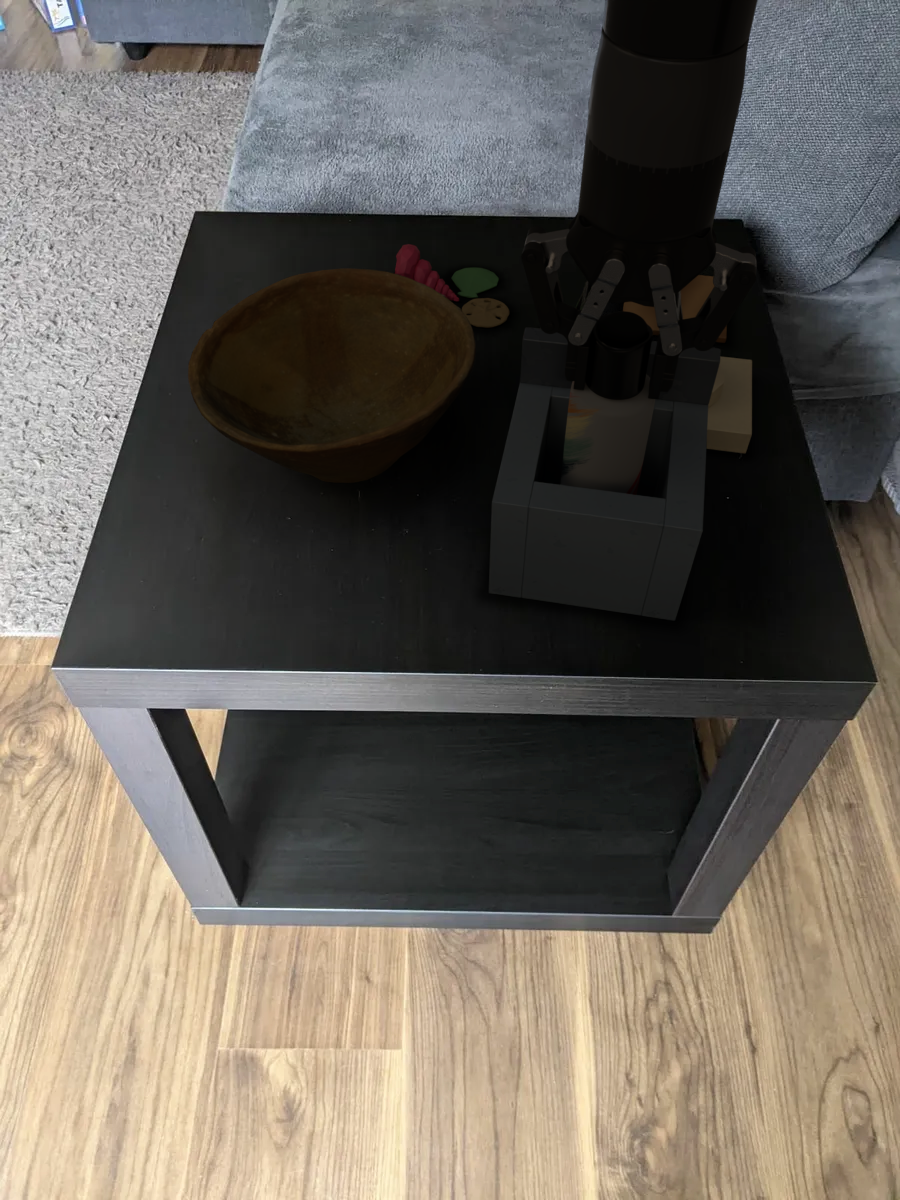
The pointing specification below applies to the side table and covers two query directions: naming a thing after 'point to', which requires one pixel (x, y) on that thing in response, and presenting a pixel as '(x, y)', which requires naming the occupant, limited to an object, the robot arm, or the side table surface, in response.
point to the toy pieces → (464, 279)
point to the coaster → (690, 302)
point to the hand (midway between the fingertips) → (617, 385)
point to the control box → (731, 406)
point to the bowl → (333, 370)
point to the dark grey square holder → (600, 496)
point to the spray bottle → (611, 408)
